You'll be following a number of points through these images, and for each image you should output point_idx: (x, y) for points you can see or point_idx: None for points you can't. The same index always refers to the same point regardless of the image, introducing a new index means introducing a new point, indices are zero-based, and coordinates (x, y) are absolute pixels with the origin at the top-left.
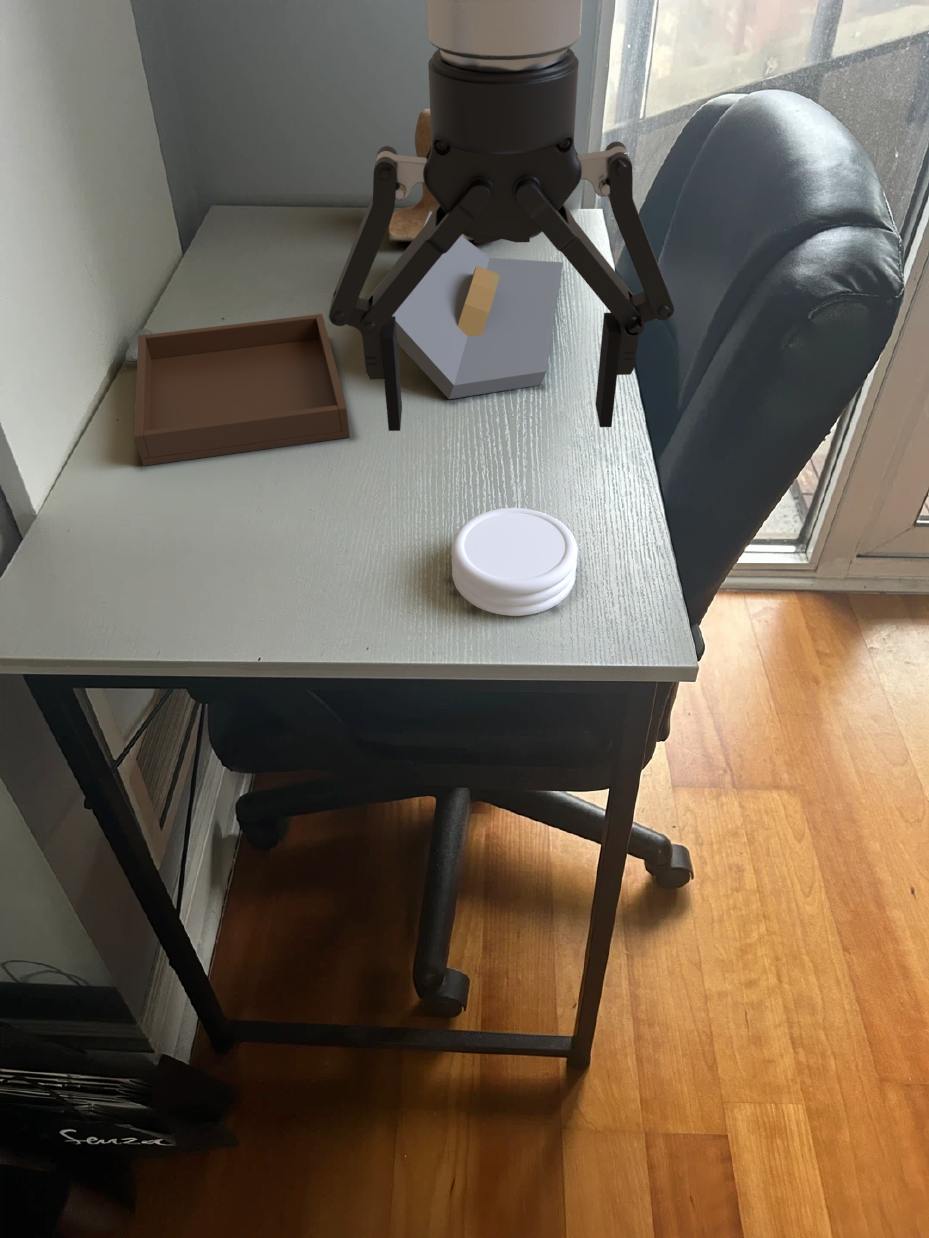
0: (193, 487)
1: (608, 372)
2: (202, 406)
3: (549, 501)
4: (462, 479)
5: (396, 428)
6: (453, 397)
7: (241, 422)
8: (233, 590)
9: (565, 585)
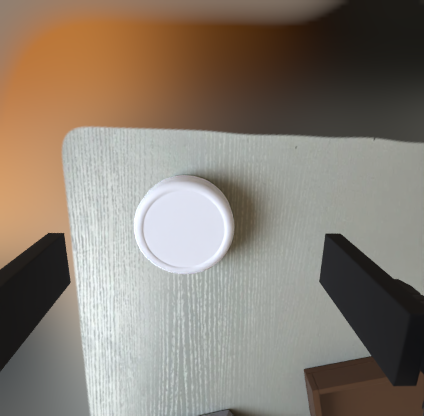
0: None
1: (11, 272)
2: (414, 401)
3: (156, 299)
4: (220, 323)
5: (331, 235)
6: (225, 411)
7: None
8: (392, 210)
9: (145, 195)
